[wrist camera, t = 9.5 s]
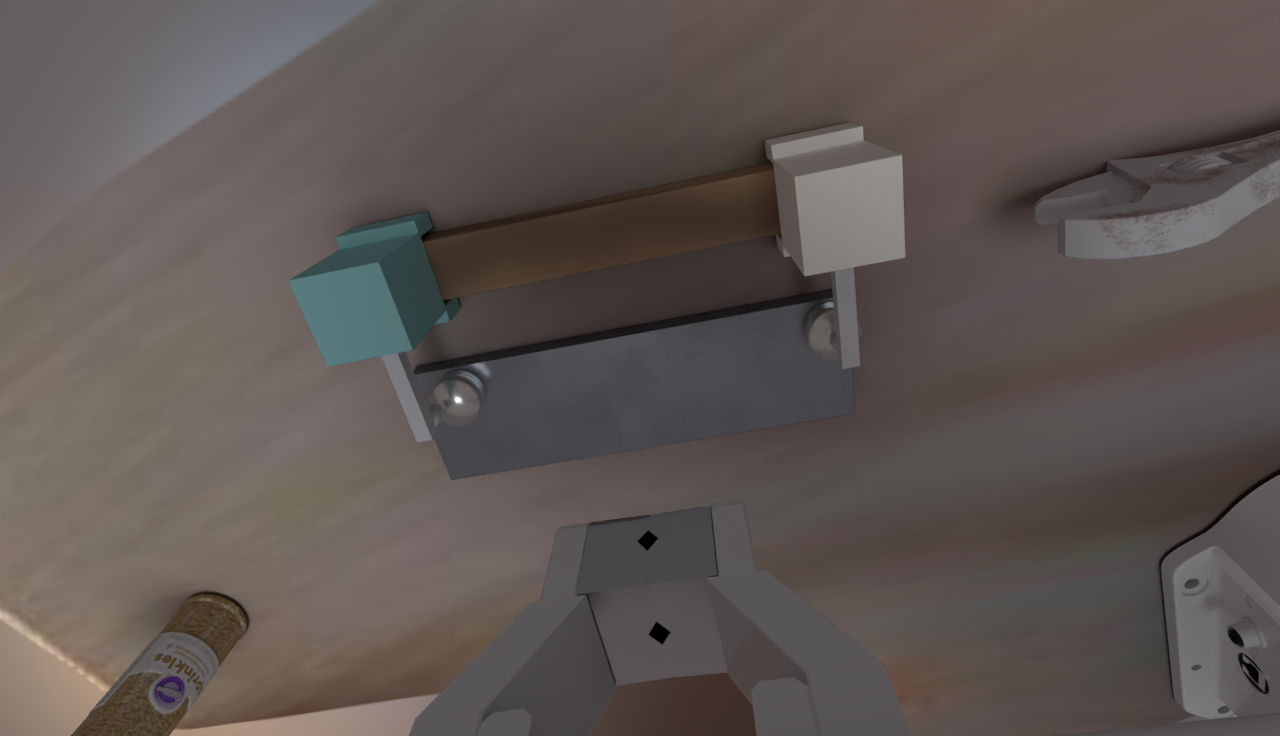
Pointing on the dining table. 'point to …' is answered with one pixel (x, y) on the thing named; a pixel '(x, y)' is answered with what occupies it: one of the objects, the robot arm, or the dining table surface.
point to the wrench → (1163, 200)
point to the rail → (605, 232)
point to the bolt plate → (640, 386)
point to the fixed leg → (838, 213)
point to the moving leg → (378, 305)
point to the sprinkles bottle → (169, 671)
